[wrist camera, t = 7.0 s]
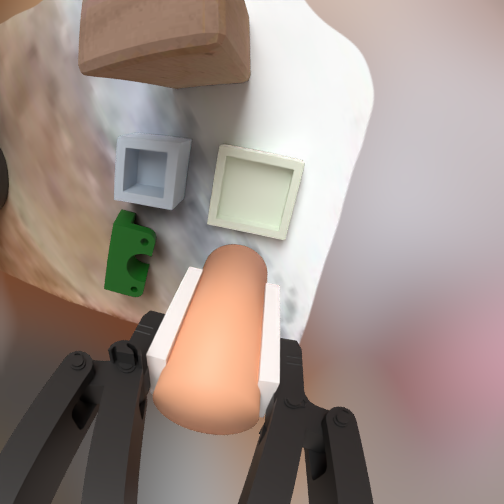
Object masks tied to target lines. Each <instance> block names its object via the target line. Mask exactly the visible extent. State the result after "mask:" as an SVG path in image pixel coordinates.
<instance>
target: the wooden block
mask: <svg viewBox="0 0 504 504" xmlns="http://www.w3.org/2000/svg"><path fill="white" fill-rule="evenodd" d="M78 65H79V68H80V71H81V73H82V74H84V75H87V76H94V77H104V78H113V79H121V80H128V81H135V82H142V83H148V84H153V85H159V86H164V87H169V88H174V89H179V88H187V87H196V86H206V85H217V84H231V83H243V82H246V81H248V80H249V77H250V38H249V15H248V12H247V8H246V5H245V1H244V0H83V2H82V10H81V21H80V34H79V60H78Z"/></svg>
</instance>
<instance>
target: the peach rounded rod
mask: <svg viewBox="0 0 504 504" xmlns="http://www.w3.org/2000/svg"><path fill="white" fill-rule="evenodd" d="M266 283H267V267H266V264H265V262H264V260H263V259H262V257H261V256H260V255H259V254H258V253H257V252H255V251H254V250H252V249H250V248H248V247H246V246H242V245H236V244H231V245H225V246H222V247H219V248H217V249H216V250H214V251H213V252H212V253H211V254H210V255H209V256H208V258H207V260H206V262H205V264H204V267H203V273H202V276H201V279H200V281H199V284H198V286H197V288H196V291H195V293H194V296H193V298H192V301H191V303H190V306H189V308H188V311H187V313H186V315H185V318H184V321H183V323H182V326H181V328H180V331H179V333H178V336H177V338H176V341H175V343H174V346H173V349H172V351H171V354H170V356H169V359H168V362H167V364H166V366H165V367H164V368H163V370H162V372H161V374H160V376H159V379H158V382H157V384H156V387H155V390H154V393H153V401H154V404H155V406H156V407H157V409H158V410H159V411H160V412H161V413H162V414H163V415H164V416H165V417H167V418H168V419H169V420H171V421H173V422H174V423H176V424H178V425H180V426H182V427H185V428H187V429H190V430H194V431H197V432H201V433H206V434H214V435H229V434H237V433H241V432H243V431H246V430H249V429H250V428H252V427H253V426H255V424H256V423H257V422H258V420H259V412H260V397H261V393H260V389H259V387H258V372H259V360H260V346H261V333H262V319H263V304H264V289H265V285H266Z"/></svg>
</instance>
